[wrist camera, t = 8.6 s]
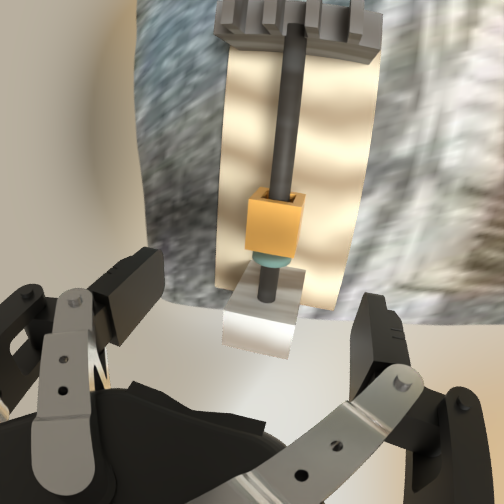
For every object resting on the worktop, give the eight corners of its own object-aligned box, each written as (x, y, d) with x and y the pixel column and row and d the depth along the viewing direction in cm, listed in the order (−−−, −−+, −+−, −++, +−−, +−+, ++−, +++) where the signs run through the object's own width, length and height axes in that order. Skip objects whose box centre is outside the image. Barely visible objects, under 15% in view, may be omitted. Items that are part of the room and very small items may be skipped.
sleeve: (260, 186, 25) (248, 198, 22) (306, 193, 25) (301, 207, 21) (255, 231, 27) (244, 249, 24) (299, 239, 26) (293, 258, 23)
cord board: (237, 18, 24) (190, -22, 14) (379, 33, 22) (405, -8, 12) (219, 280, 38) (179, 341, 28) (333, 303, 35) (329, 375, 25)
